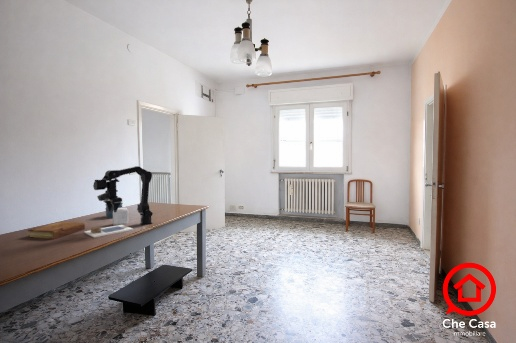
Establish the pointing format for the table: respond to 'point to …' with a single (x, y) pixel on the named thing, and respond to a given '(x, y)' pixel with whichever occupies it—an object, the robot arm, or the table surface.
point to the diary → (56, 230)
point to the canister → (110, 213)
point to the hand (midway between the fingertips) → (112, 211)
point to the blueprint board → (107, 230)
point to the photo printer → (120, 216)
